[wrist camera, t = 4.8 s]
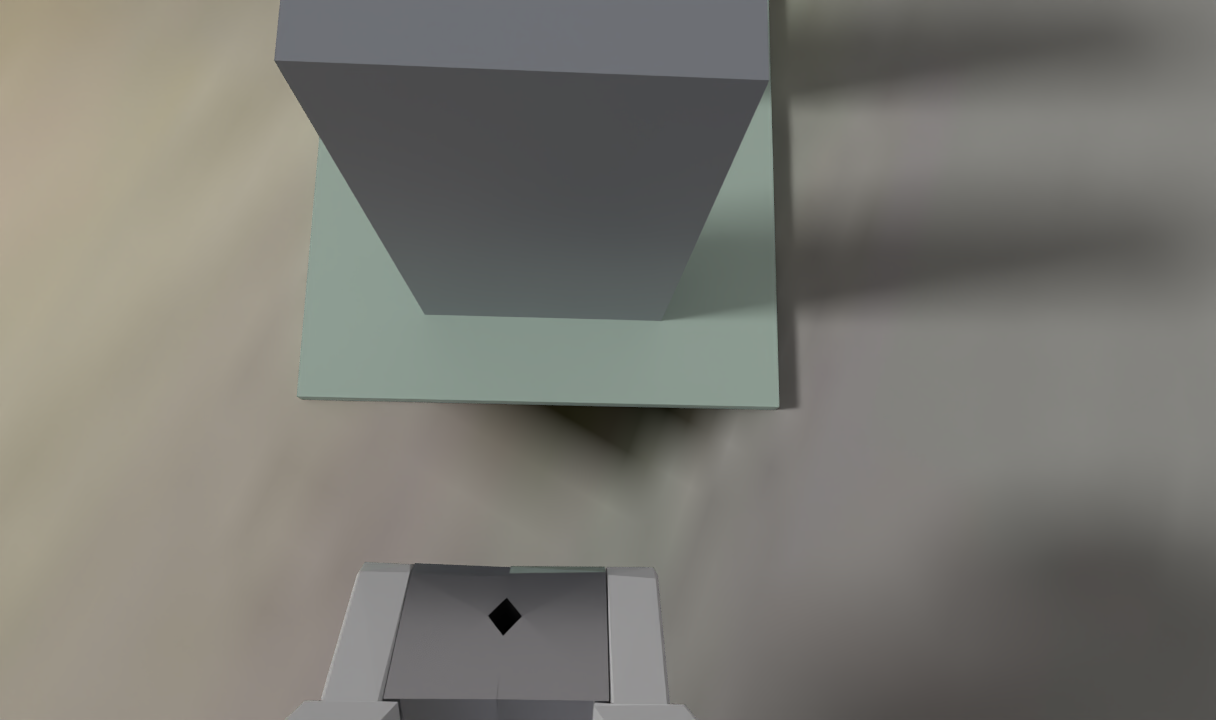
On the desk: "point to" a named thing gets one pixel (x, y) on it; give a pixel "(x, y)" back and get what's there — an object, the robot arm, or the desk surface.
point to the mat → (551, 347)
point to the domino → (531, 139)
